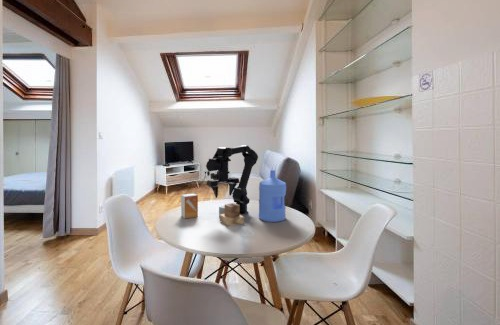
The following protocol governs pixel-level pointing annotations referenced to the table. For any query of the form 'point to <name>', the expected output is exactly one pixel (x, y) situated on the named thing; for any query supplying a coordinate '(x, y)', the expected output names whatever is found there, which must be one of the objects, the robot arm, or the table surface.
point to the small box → (189, 205)
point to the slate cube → (221, 210)
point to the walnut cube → (232, 210)
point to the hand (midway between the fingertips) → (223, 196)
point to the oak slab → (231, 220)
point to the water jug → (272, 199)
